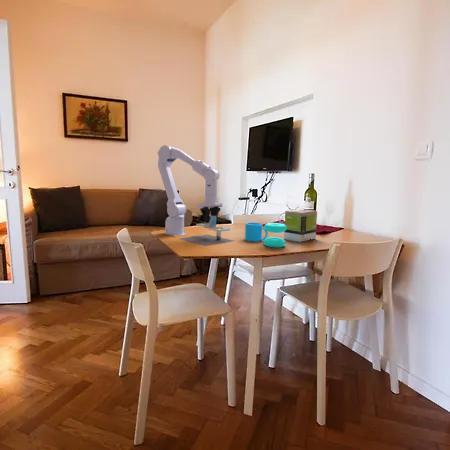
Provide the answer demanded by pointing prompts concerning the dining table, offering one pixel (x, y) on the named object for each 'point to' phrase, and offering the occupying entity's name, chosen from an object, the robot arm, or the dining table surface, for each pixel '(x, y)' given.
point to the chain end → (213, 224)
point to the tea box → (300, 225)
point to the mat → (206, 240)
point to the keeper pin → (218, 236)
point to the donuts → (275, 240)
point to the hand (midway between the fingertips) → (209, 222)
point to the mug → (254, 232)
